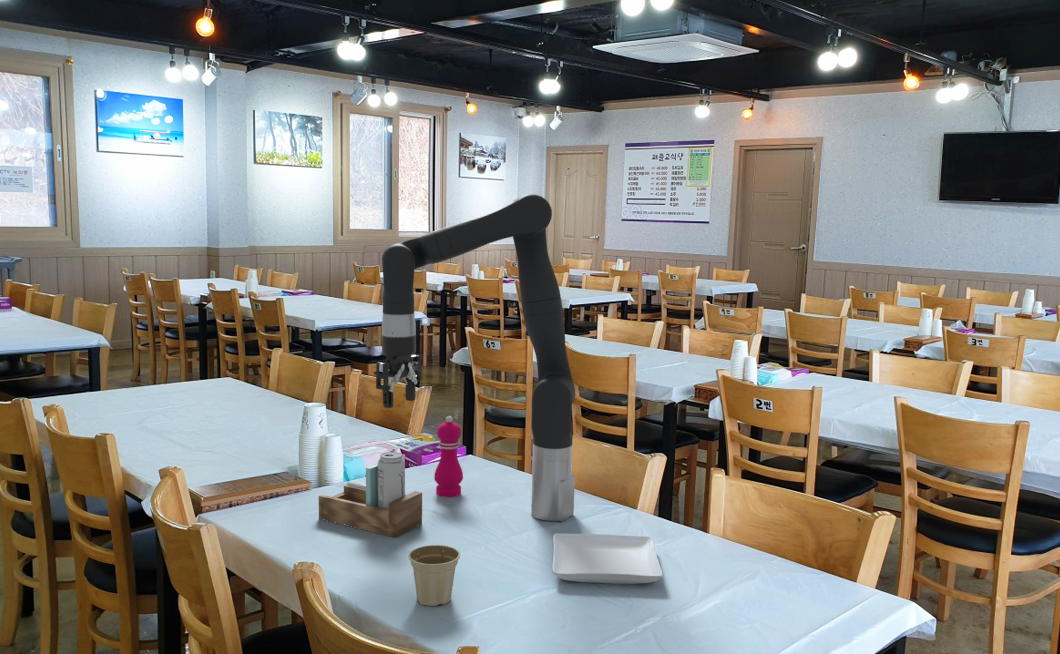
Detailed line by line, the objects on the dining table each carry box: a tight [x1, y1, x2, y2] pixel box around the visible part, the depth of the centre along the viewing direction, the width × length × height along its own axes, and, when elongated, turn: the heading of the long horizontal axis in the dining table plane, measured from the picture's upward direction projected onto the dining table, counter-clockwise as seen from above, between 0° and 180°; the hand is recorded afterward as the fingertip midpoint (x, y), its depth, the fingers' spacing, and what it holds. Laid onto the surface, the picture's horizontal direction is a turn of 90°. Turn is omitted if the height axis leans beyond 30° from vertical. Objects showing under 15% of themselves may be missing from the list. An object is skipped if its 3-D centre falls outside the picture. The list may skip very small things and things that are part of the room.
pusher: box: [346, 462, 378, 507], centre depth 195 cm, size 9×7×12 cm
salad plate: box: [551, 533, 664, 585], centre depth 173 cm, size 21×21×3 cm
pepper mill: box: [433, 415, 464, 498], centre depth 214 cm, size 7×7×20 cm
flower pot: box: [408, 544, 461, 607], centre depth 156 cm, size 9×9×9 cm
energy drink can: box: [377, 451, 406, 510], centre depth 191 cm, size 6×6×15 cm
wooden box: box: [318, 484, 423, 539], centre depth 194 cm, size 22×10×8 cm, turn 62°
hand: (399, 403), depth 194 cm, fingers open, 8 cm apart
